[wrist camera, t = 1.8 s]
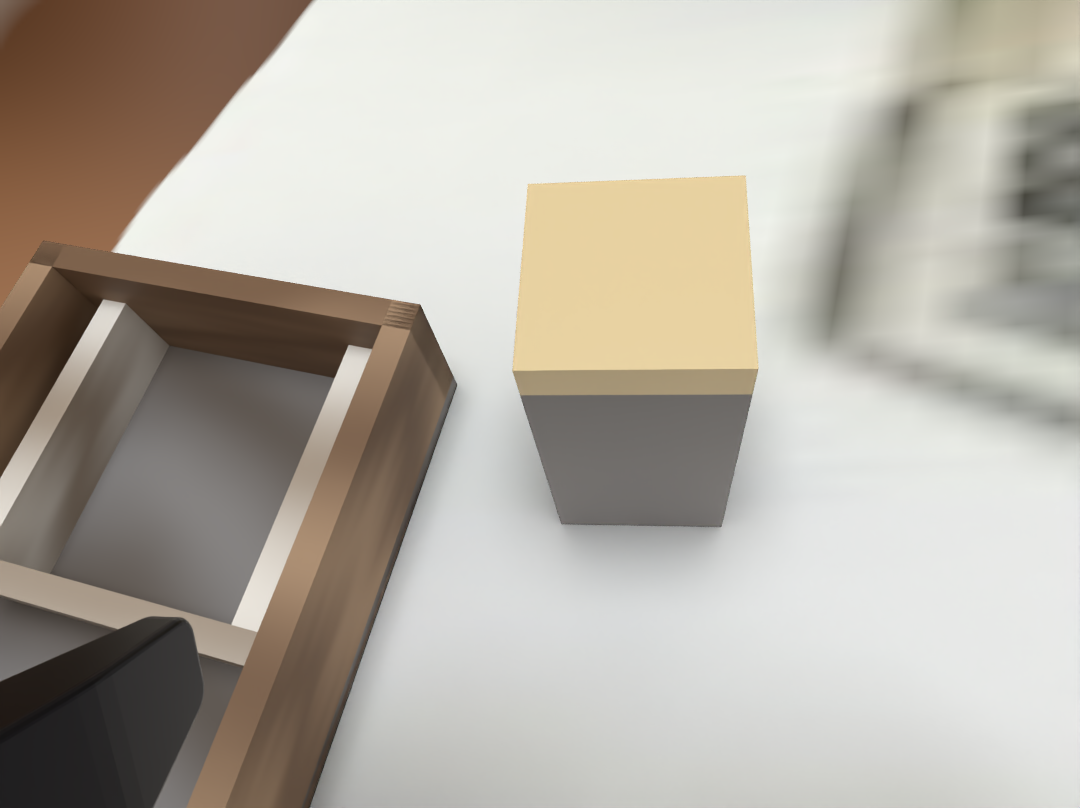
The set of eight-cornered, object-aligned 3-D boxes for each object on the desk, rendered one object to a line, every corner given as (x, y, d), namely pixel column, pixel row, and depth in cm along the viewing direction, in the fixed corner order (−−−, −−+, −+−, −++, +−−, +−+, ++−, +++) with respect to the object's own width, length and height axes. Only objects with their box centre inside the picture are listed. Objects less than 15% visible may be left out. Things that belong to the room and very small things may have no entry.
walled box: (170, 1201, 17) (27, 1317, 13) (-248, 1005, 20) (-472, 1053, 16) (457, 384, 25) (420, 304, 21) (130, 322, 28) (43, 240, 24)
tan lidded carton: (721, 526, 22) (758, 368, 14) (561, 524, 23) (512, 370, 15) (715, 384, 24) (745, 175, 16) (568, 385, 25) (527, 184, 17)
